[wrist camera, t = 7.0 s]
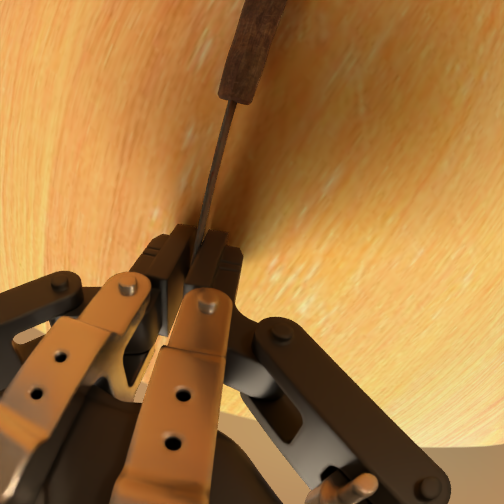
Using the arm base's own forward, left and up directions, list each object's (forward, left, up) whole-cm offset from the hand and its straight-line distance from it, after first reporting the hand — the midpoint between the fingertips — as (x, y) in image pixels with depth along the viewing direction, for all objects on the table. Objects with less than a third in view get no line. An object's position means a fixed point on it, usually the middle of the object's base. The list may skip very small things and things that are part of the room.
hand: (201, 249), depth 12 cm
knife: (+1, +6, 0) cm, 6 cm away
